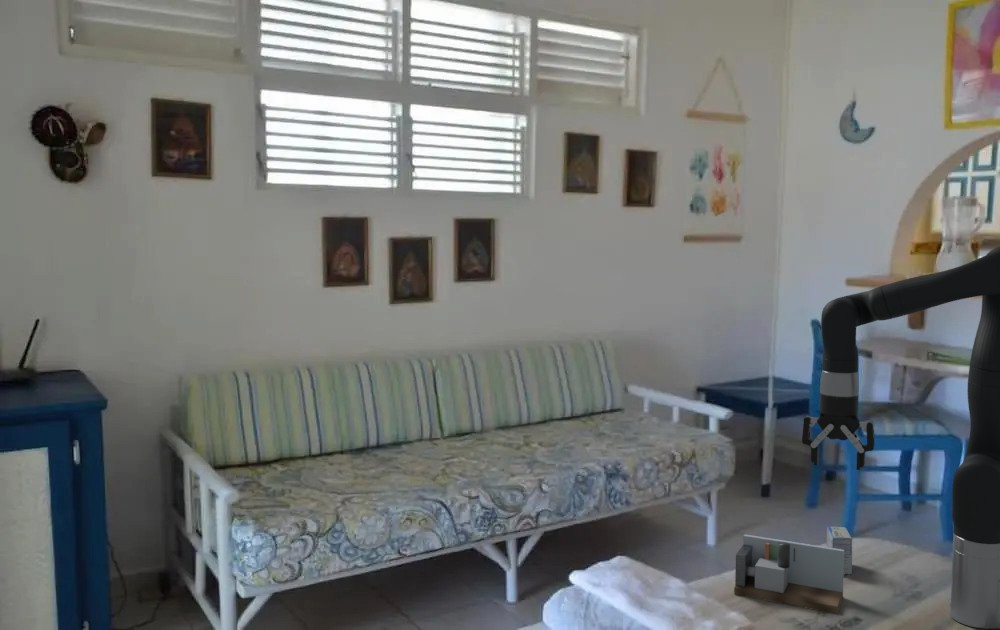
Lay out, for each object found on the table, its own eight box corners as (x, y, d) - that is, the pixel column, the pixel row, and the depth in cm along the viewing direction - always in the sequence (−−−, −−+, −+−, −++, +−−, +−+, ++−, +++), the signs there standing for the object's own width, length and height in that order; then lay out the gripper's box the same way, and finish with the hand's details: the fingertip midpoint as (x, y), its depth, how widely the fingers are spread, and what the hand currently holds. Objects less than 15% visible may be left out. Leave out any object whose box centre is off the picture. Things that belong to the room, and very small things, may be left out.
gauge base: (842, 597, 185) (843, 590, 185) (837, 613, 177) (837, 606, 177) (743, 579, 195) (743, 573, 195) (734, 594, 187) (734, 587, 187)
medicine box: (852, 575, 197) (853, 538, 196) (831, 573, 198) (832, 537, 197) (845, 562, 205) (846, 526, 204) (825, 561, 206) (826, 525, 205)
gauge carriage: (791, 584, 188) (792, 540, 187) (786, 593, 183) (787, 548, 182) (751, 576, 192) (751, 533, 191) (745, 586, 187) (746, 541, 186)
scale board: (843, 590, 185) (844, 549, 184) (842, 592, 184) (843, 551, 183) (743, 573, 195) (744, 534, 194) (742, 574, 194) (743, 535, 193)
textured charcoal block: (751, 576, 193) (752, 545, 192) (744, 587, 187) (745, 556, 186) (742, 574, 194) (743, 544, 193) (735, 585, 188) (735, 554, 187)
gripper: (877, 391, 183) (875, 466, 184) (806, 386, 189) (805, 458, 191) (873, 397, 176) (871, 475, 177) (801, 392, 183) (799, 467, 184)
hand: (837, 466), depth 184 cm, fingers open, 8 cm apart
